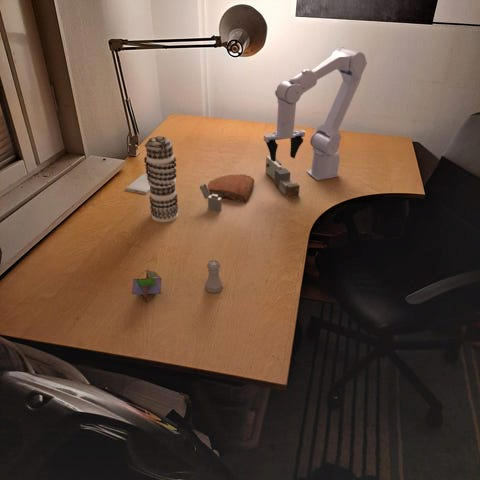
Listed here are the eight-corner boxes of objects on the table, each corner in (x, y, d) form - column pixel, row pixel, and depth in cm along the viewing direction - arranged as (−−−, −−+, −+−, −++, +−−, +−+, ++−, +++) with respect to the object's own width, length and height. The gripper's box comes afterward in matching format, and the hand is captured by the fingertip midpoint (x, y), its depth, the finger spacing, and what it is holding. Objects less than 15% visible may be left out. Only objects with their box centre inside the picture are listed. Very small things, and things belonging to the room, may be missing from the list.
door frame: (271, 170, 171) (272, 155, 167) (299, 195, 154) (301, 179, 151) (260, 171, 169) (261, 157, 166) (288, 197, 153) (289, 182, 149)
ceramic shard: (216, 166, 161) (256, 176, 160) (213, 182, 164) (252, 192, 163) (205, 178, 148) (249, 189, 147) (202, 196, 151) (245, 207, 150)
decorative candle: (171, 225, 137) (165, 147, 123) (144, 219, 139) (135, 142, 125) (184, 211, 144) (180, 136, 130) (159, 205, 146) (152, 131, 132)
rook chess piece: (204, 282, 114) (204, 257, 110) (222, 282, 115) (222, 256, 110) (205, 294, 111) (204, 268, 106) (223, 293, 111) (223, 267, 106)
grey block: (284, 180, 162) (285, 167, 159) (289, 185, 159) (290, 172, 156) (274, 182, 160) (275, 169, 158) (279, 187, 157) (280, 174, 155)
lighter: (221, 209, 145) (221, 187, 141) (219, 212, 144) (219, 189, 139) (202, 204, 148) (202, 182, 143) (200, 206, 146) (199, 184, 142)
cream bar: (268, 171, 169) (269, 155, 166) (280, 182, 162) (281, 166, 158) (263, 172, 169) (264, 156, 165) (275, 183, 161) (276, 167, 157)
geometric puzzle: (160, 303, 104) (159, 269, 105) (130, 304, 104) (129, 270, 104) (162, 301, 111) (162, 268, 112) (134, 302, 111) (134, 269, 111)
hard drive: (143, 173, 164) (125, 187, 154) (163, 176, 162) (146, 191, 152) (143, 177, 165) (125, 191, 155) (163, 180, 163) (147, 195, 153)
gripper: (299, 114, 153) (295, 151, 160) (260, 118, 148) (258, 157, 156) (309, 120, 147) (305, 159, 155) (270, 125, 143) (267, 165, 150)
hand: (282, 158), depth 155 cm, fingers open, 7 cm apart
